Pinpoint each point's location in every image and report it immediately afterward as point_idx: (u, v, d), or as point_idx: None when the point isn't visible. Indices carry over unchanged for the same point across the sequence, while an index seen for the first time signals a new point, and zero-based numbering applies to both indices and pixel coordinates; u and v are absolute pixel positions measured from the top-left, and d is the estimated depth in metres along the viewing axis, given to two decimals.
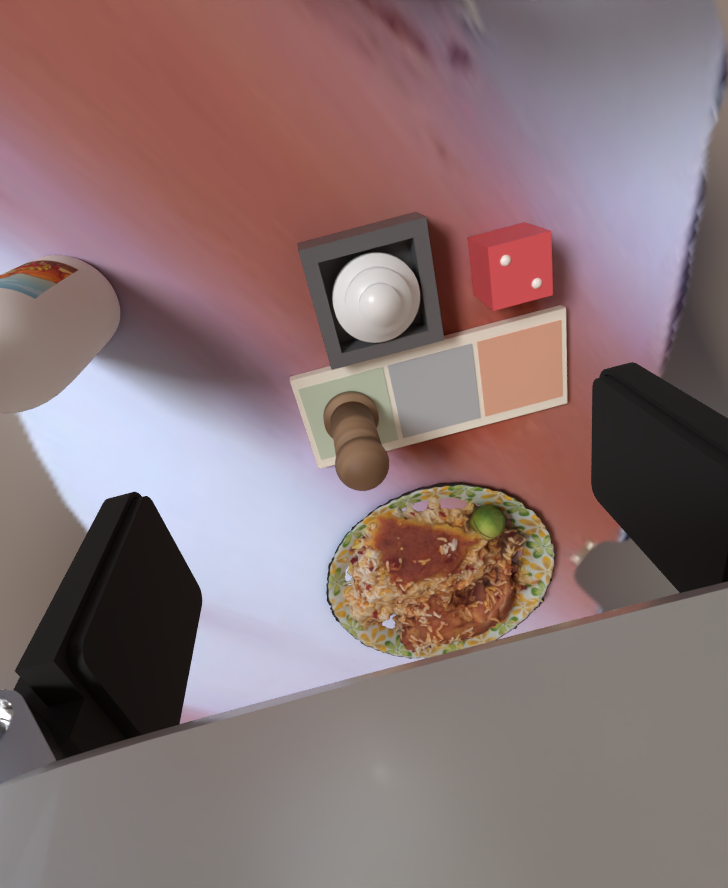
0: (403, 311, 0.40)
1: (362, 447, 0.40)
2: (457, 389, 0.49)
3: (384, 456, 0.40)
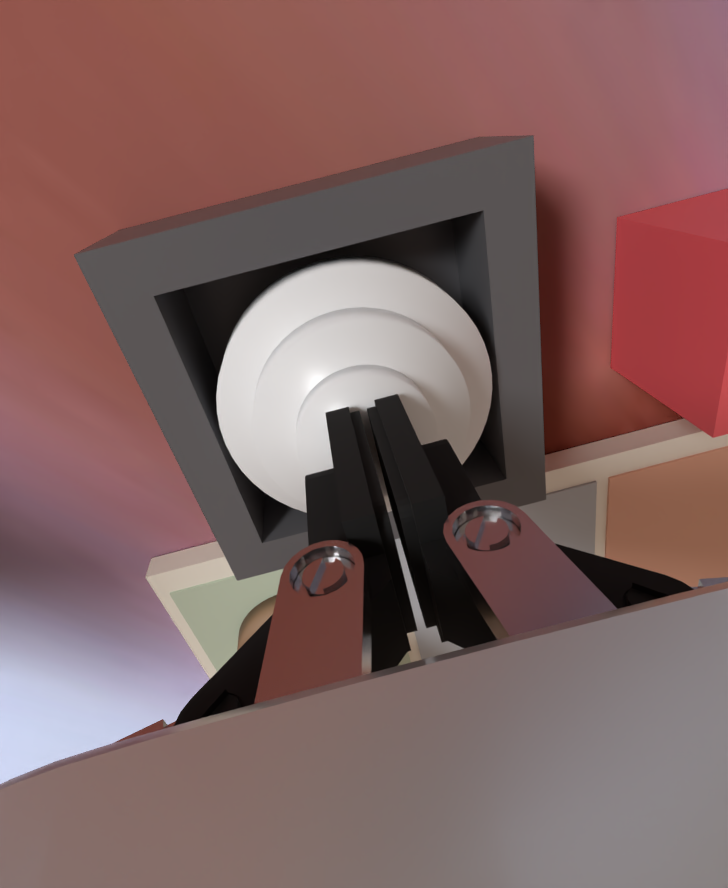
0: None
1: None
2: None
3: None
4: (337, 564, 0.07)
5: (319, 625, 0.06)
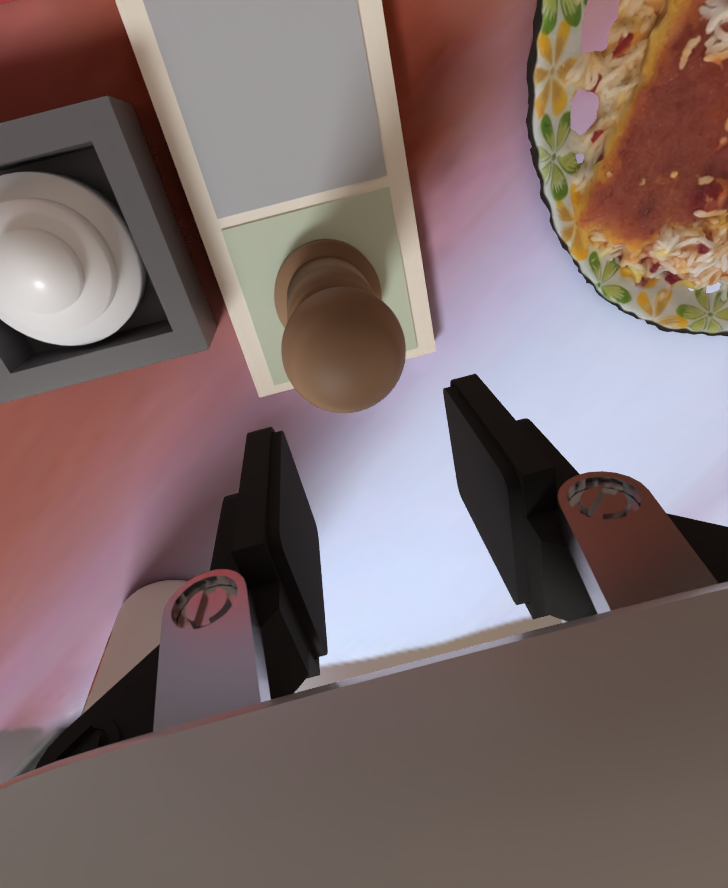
0: (45, 217, 0.20)
1: (286, 363, 0.17)
2: (266, 30, 0.20)
3: (310, 311, 0.16)
4: (219, 592, 0.07)
5: (210, 653, 0.06)
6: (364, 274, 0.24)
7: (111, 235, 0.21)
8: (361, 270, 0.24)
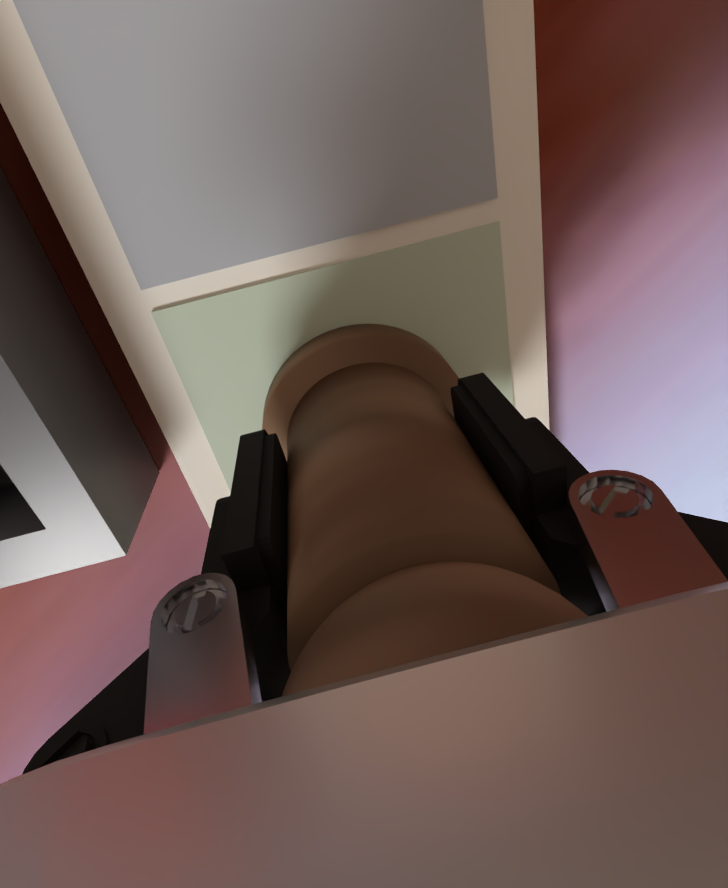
0: None
1: None
2: None
3: None
4: (209, 596, 0.07)
5: (199, 657, 0.06)
6: (442, 394, 0.12)
7: None
8: (437, 387, 0.12)
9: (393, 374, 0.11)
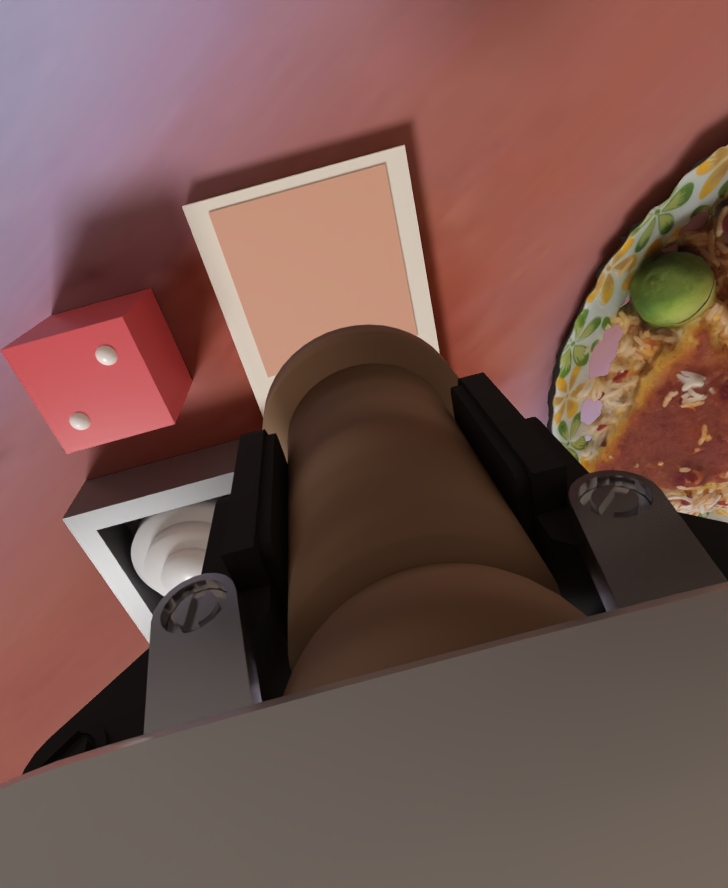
0: (200, 540, 0.27)
1: None
2: None
3: None
4: (209, 596, 0.07)
5: (199, 657, 0.06)
6: (443, 395, 0.12)
7: None
8: (437, 388, 0.12)
9: (393, 375, 0.11)
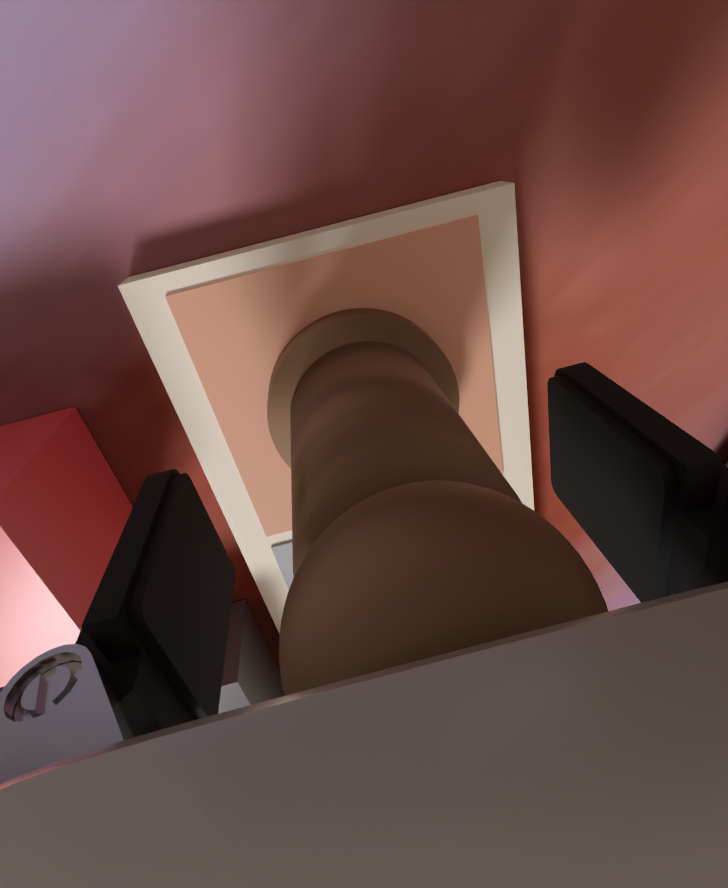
0: None
1: None
2: None
3: (367, 606, 0.05)
4: (61, 670, 0.07)
5: (61, 733, 0.06)
6: (430, 371, 0.13)
7: None
8: (425, 364, 0.13)
9: (385, 350, 0.12)
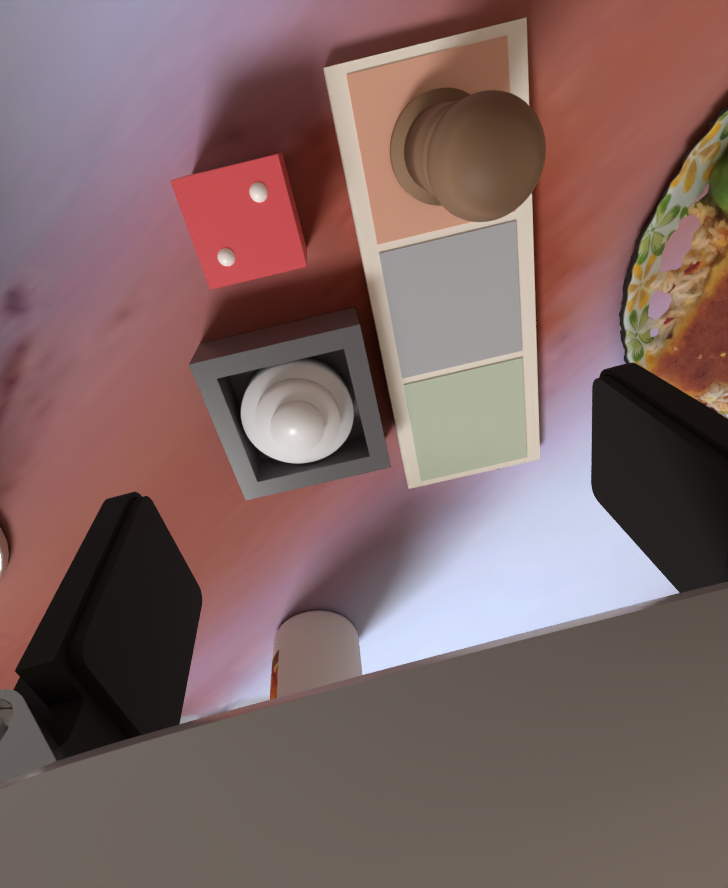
0: (307, 394, 0.30)
1: (436, 164, 0.19)
2: (455, 269, 0.30)
3: (465, 107, 0.18)
4: None
5: None
6: None
7: (340, 398, 0.32)
8: None
9: None
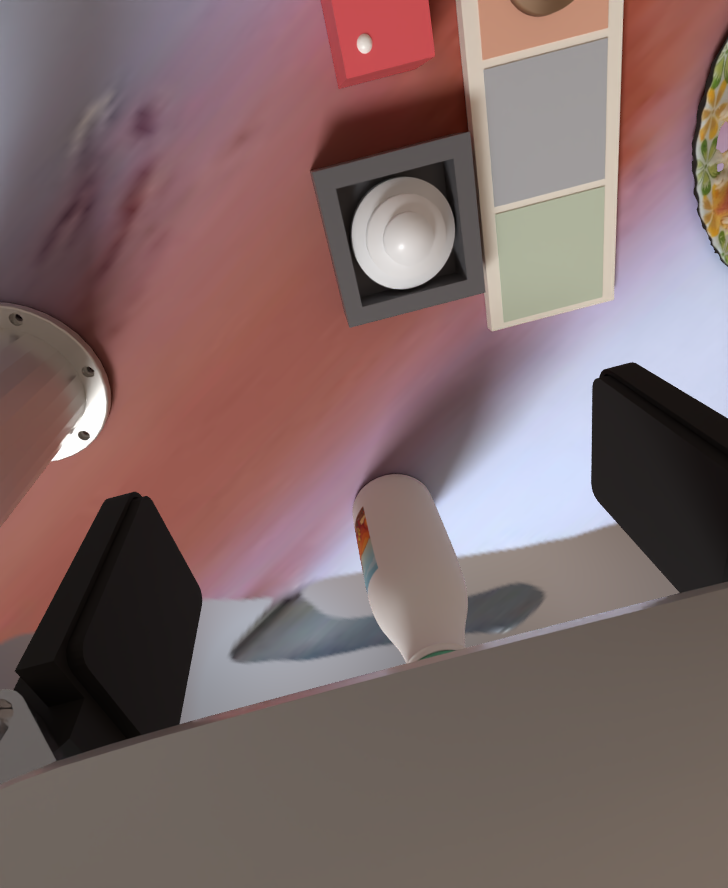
0: (418, 204, 0.32)
1: None
2: (550, 89, 0.33)
3: None
4: None
5: None
6: None
7: (444, 216, 0.34)
8: None
9: None
